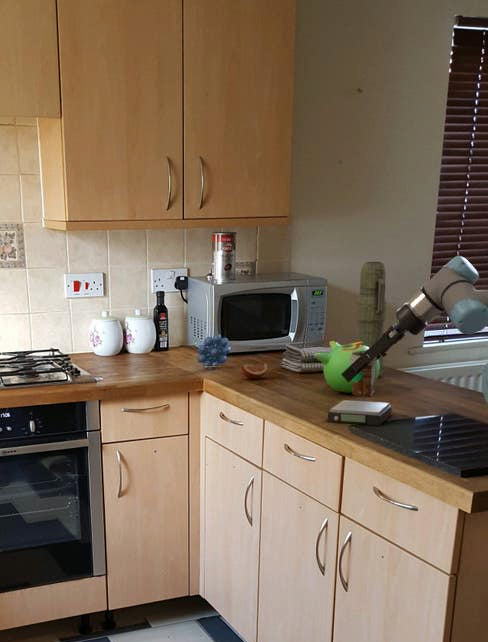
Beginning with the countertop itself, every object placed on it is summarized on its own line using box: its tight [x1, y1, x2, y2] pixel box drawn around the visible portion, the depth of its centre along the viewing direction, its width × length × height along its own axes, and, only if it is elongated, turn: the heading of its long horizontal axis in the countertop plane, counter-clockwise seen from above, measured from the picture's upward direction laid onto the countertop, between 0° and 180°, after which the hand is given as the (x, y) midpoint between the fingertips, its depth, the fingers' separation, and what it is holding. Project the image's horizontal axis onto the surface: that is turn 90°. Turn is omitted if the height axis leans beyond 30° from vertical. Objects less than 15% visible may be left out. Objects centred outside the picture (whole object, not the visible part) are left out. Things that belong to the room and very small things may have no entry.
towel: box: [280, 343, 332, 374], centre depth 295 cm, size 15×18×8 cm
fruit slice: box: [241, 362, 269, 380], centre depth 280 cm, size 8×7×5 cm
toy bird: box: [314, 340, 380, 394], centre depth 253 cm, size 18×17×15 cm
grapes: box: [196, 333, 231, 370], centre depth 301 cm, size 12×7×12 cm, turn 101°
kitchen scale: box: [327, 399, 393, 426], centre depth 221 cm, size 14×13×3 cm
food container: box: [349, 350, 377, 398], centre depth 218 cm, size 12×6×10 cm, turn 161°
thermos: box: [356, 261, 387, 379], centre depth 274 cm, size 9×12×35 cm
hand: (351, 374), depth 219 cm, fingers closed on food container, 12 cm apart
